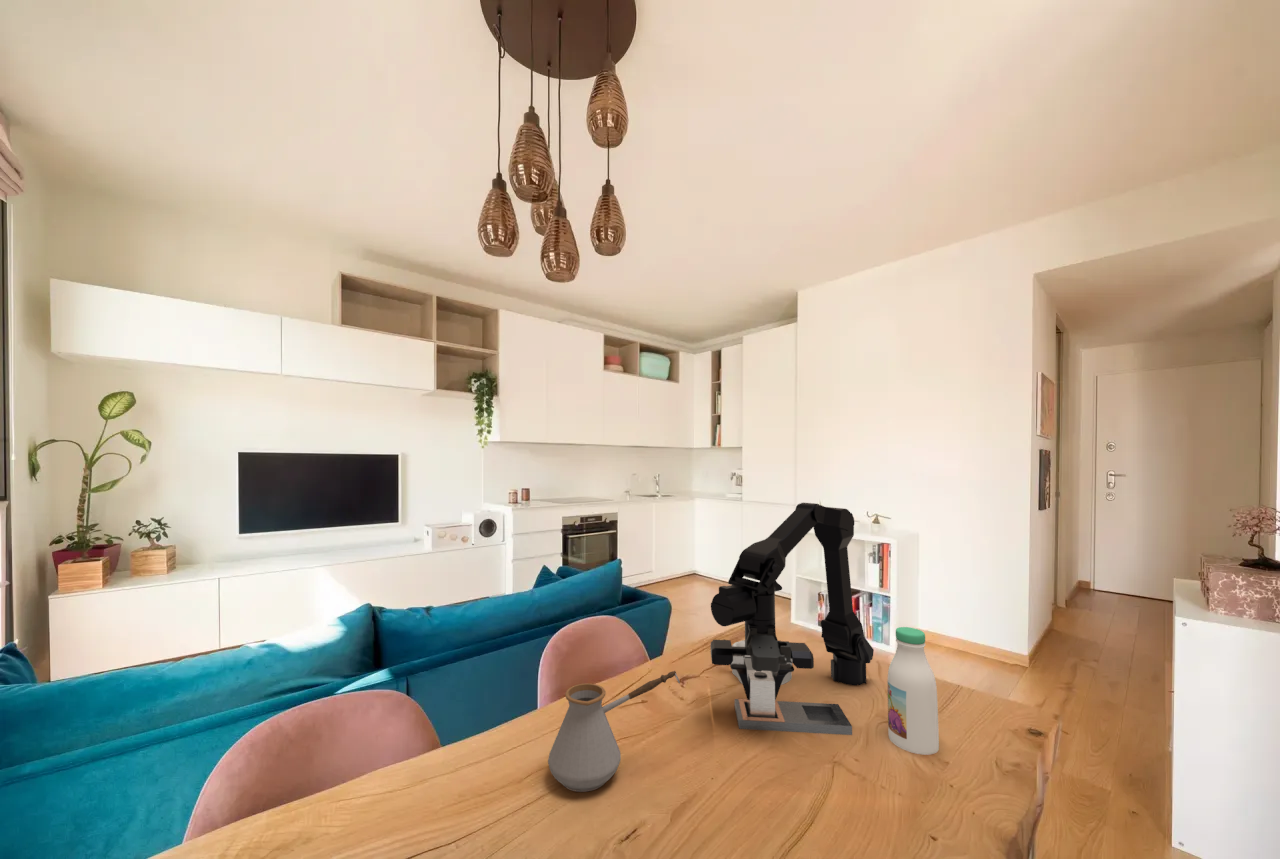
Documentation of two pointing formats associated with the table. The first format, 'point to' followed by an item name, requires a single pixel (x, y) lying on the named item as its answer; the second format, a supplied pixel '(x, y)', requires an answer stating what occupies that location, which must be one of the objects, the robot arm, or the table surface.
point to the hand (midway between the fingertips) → (760, 699)
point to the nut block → (761, 694)
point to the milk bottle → (912, 696)
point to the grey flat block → (796, 718)
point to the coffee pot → (589, 737)
